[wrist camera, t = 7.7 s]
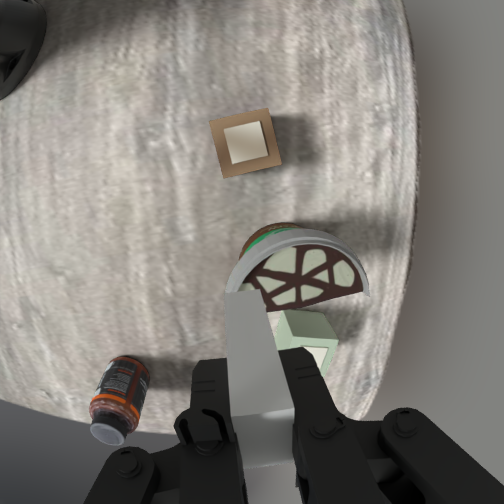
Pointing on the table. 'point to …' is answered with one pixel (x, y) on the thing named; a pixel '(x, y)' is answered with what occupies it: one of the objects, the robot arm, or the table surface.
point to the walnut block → (245, 142)
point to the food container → (297, 267)
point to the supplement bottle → (118, 400)
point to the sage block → (307, 335)
